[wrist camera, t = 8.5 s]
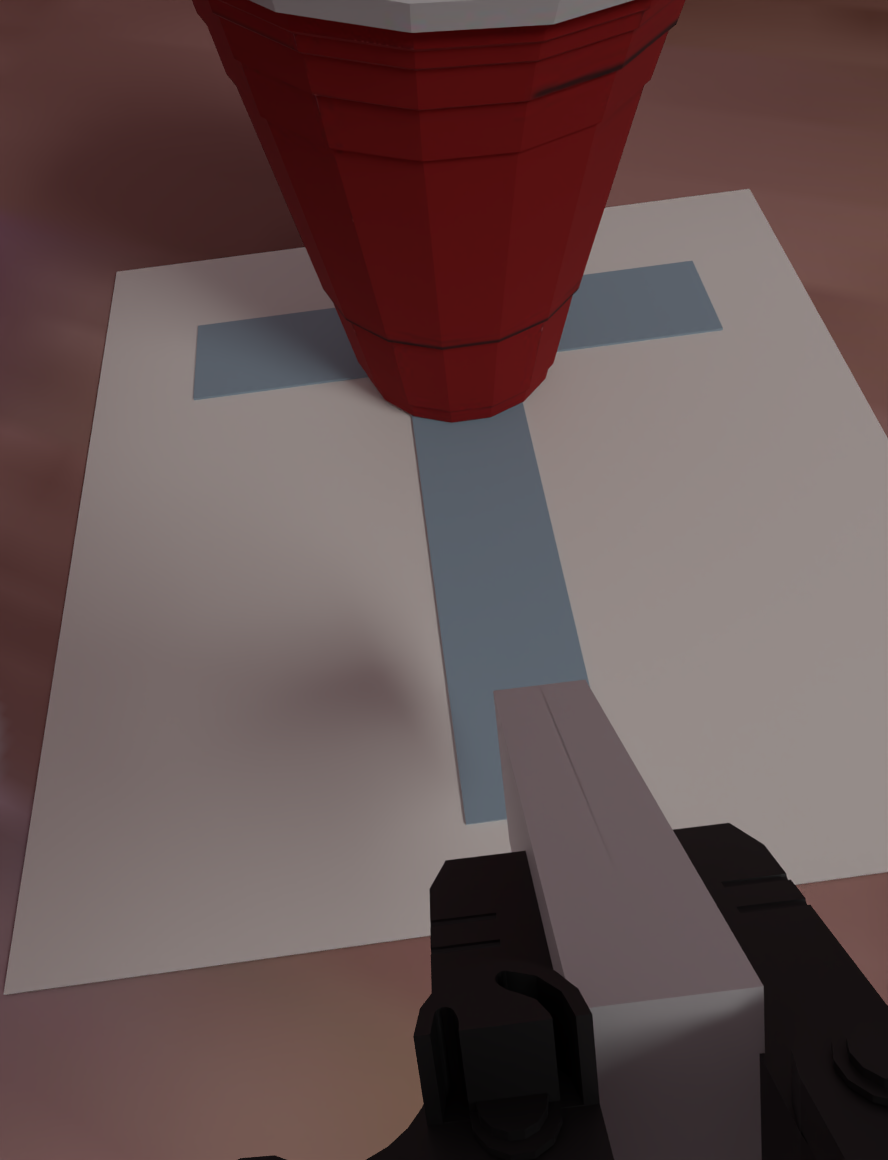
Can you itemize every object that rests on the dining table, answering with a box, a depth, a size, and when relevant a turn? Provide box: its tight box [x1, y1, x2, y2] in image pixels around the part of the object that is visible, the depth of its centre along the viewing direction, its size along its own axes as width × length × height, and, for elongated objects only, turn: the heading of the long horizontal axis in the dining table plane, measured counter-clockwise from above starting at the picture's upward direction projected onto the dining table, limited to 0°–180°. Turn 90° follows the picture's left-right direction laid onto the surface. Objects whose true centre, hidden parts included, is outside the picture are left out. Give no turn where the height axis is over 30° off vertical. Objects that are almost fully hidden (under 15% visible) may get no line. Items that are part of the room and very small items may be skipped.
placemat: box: [3, 189, 888, 995], centre depth 21 cm, size 22×22×1 cm
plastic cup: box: [192, 0, 685, 423], centre depth 18 cm, size 11×11×12 cm
